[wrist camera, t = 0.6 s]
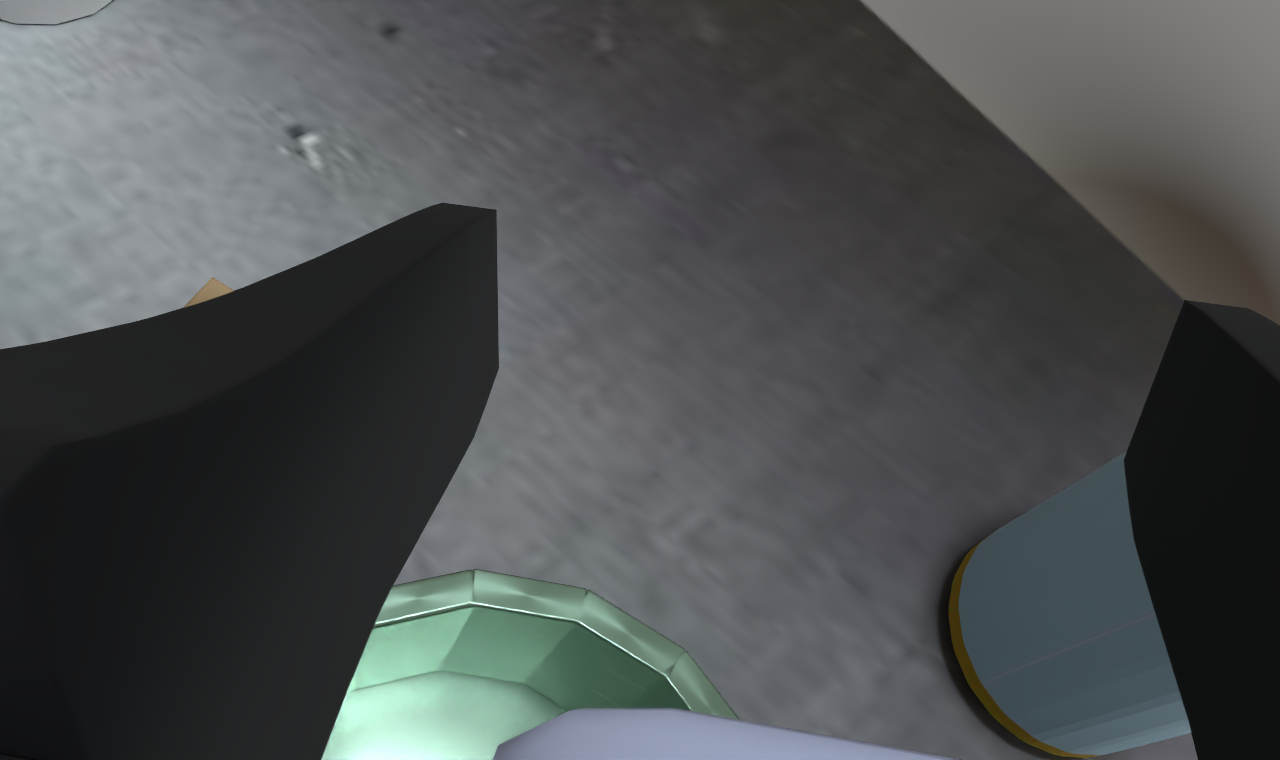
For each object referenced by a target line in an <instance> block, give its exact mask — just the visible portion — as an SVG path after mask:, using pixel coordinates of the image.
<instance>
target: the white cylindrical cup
mask: <svg viewBox="0 0 1280 760" xmlns="http://www.w3.org/2000/svg"><path fill="white" fill-rule="evenodd" d="M111 1H113V0H0V19H1V20H4V21H8V22H11V23H15V24H60V23H63V22H67V21H70V20H74V19H78V18H81V17H85V16H88V15H92V14H94V13H96V12H97V11H99V10H100V9H101V8H103V7H104V6H106V5H107V4H109V3H110V2H111Z"/></svg>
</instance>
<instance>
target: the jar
mask: <svg viewBox="0 0 1280 760" xmlns="http://www.w3.org/2000/svg"><path fill="white" fill-rule="evenodd" d="M580 708H677V709H683V710H688V711H694V712H700V713H705V714H711V715H716V716H722V717H727V718H733V719H739V718H738V717H737V716H736V714H735V713H734V712H733V710H732V709H731V708H730V706H729V705H728V704H727V702H726V701H725V700H724V699H723V697H722V696H721V695H720V693H719V692H718V691H717V689H716V688H715V687H714V686H713V684H712V683H711V682H710V680H709V679H708V678H707V676H706V675H705V674H704V673H703V671H702V670H701V669H700V667H699V666H698V665H697V663H696V662H695V661H694V659H693V658H692V657H691V656H690V654H689V653H688V652H687V651H685V649H684V648H682V647H681V646H679V645H677V644H676V643H674V642H673V641H671V640H669V639H668V638H666V637H665V636H663V635H661V634H660V633H658V632H656V631H655V630H653V629H652V628H650V627H648V626H647V625H645V624H644V623H642V622H640V621H639V620H637V619H635V618H634V617H632V616H631V615H629V614H627V613H626V612H624V611H623V610H621V609H619V608H618V607H616V606H614V605H613V604H611V603H610V602H608V601H606V600H605V599H603V598H602V597H600V596H598V595H597V594H595V593H593V592H592V591H590V590H587V589H585V588H580V587H575V586H569V585H563V584H558V583H552V582H546V581H541V580H535V579H530V578H524V577H518V576H513V575H507V574H501V573H496V572H490V571H485V570H479V569H474V570H473V571H472V570H466V571H461V572H456V573H451V574H446V575H441V576H437V577H432V578H427V579H422V580H417V581H413V582H408V583H403V584H398V585H393V586H392V588H391V590H390V593H389V595H388V597H387V599H386V601H385V603H384V605H383V607H382V609H381V611H380V613H379V615H378V617H377V619H376V622H375V624H374V627H373V629H372V632H371V634H370V637H369V639H368V642H367V644H366V646H365V649H364V651H363V654H362V656H361V659H360V661H359V664H358V666H357V669H356V671H355V674H354V676H353V679H352V681H351V683H350V686H349V688H348V691H347V693H346V696H345V699H344V701H343V704H342V707H341V709H340V712H339V714H338V717H337V720H336V722H335V725H334V728H333V730H332V733H331V736H330V738H329V741H328V743H327V746H326V749H325V751H324V754H323V757H322V759H321V760H492V759H493V757H494V754H495V752H496V750H497V747H498V745H500V744H502V743H504V742H506V741H508V740H510V739H512V738H514V737H516V736H518V735H520V734H522V733H524V732H526V731H528V730H530V729H532V728H535V727H537V726H539V725H541V724H543V723H545V722H547V721H549V720H551V719H553V718H555V717H557V716H559V715H561V714H563V713H565V712H568V711H570V710H575V709H580ZM739 720H740V719H739Z"/></svg>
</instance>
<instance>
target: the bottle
mask: <svg viewBox="0 0 1280 760" xmlns="http://www.w3.org/2000/svg"><path fill="white" fill-rule="evenodd" d="M1126 453H1127V451H1126V452H1124V453H1123V454H1121V455H1119V456H1118V457H1116V458H1114V459H1113V460H1111V461H1109V462H1108V463H1106V464H1104V465H1103V466H1101V467H1100V468H1098V469H1096V470H1095V471H1093V472H1091V473H1090V474H1088V475H1086V476H1085V477H1083V478H1081V479H1080V480H1078V481H1076V482H1075V483H1073V484H1071V485H1070V486H1068V487H1067V488H1065V489H1063V490H1062V491H1060V492H1058V493H1057V494H1055V495H1053V496H1052V497H1050V498H1048V499H1047V500H1045V501H1043V502H1042V503H1040V504H1039V505H1037V506H1035V507H1034V508H1032V509H1030V510H1029V511H1027V512H1025V513H1024V514H1022V515H1020V516H1019V517H1017V518H1015V519H1014V520H1012V521H1010V522H1009V523H1007V524H1006V525H1004V526H1002V527H1001V528H999V529H997V530H996V531H995V532H994V533H992V534H991V535H989V536H987V537H986V538H985V539H984V540H982V541H981V542H980V543H978V544H977V545H976V546H975V547H973V548H972V549H971V550H970V551H969V552H968V553H967V555H966V556H965V558H964V560H963V561H962V563H961V565H960V567H959V569H958V570H957V572H956V574H955V577H954V580H953V583H952V589H951V595H950V601H949V623H950V630H951V637H952V644H953V647H954V651H955V654H956V657H957V659H958V661H959V664H960V666H961V668H962V671H963V673H964V676H965V678H966V680H967V682H968V684H969V686H970V687H971V689H972V690H973V692H974V693H975V694H976V696H977V697H978V698H979V700H980V701H981V702H982V704H983V705H984V706H985V708H986V709H987V710H988V712H989V713H990V714H991V715H992V716H993V717H994V718H995V719H996V720H997V721H998V722H999V723H1000V724H1001V725H1003V726H1004V727H1005V728H1006V729H1008V730H1009V731H1010V732H1011V733H1013V734H1014V735H1015V736H1016V737H1018V738H1019V739H1020V740H1022V741H1024V742H1025V743H1027V744H1029V745H1031V746H1034V747H1036V748H1038V749H1041V750H1043V751H1046V752H1048V753H1051V754H1053V755H1057V756H1062V757H1081V758H1088V757H1095V756H1099V755H1105V754H1111V753H1114V752H1118V751H1122V750H1126V749H1130V748H1134V747H1138V746H1142V745H1146V744H1150V743H1154V742H1157V741H1161V740H1165V739H1169V738H1173V737H1177V736H1181V735H1185V734H1189V733H1191V729H1190V725H1189V721H1188V718H1187V715H1186V711H1185V708H1184V705H1183V702H1182V698H1181V695H1180V692H1179V689H1178V685H1177V682H1176V679H1175V676H1174V672H1173V669H1172V666H1171V663H1170V659H1169V656H1168V653H1167V650H1166V646H1165V643H1164V640H1163V637H1162V633H1161V630H1160V627H1159V624H1158V620H1157V617H1156V614H1155V611H1154V607H1153V604H1152V601H1151V597H1150V594H1149V591H1148V587H1147V584H1146V581H1145V577H1144V574H1143V570H1142V567H1141V564H1140V560H1139V557H1138V553H1137V549H1136V546H1135V542H1134V538H1133V531H1132V524H1131V518H1130V511H1129V504H1128V495H1127V486H1126V477H1125V468H1124V458H1125V455H1126Z"/></svg>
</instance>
